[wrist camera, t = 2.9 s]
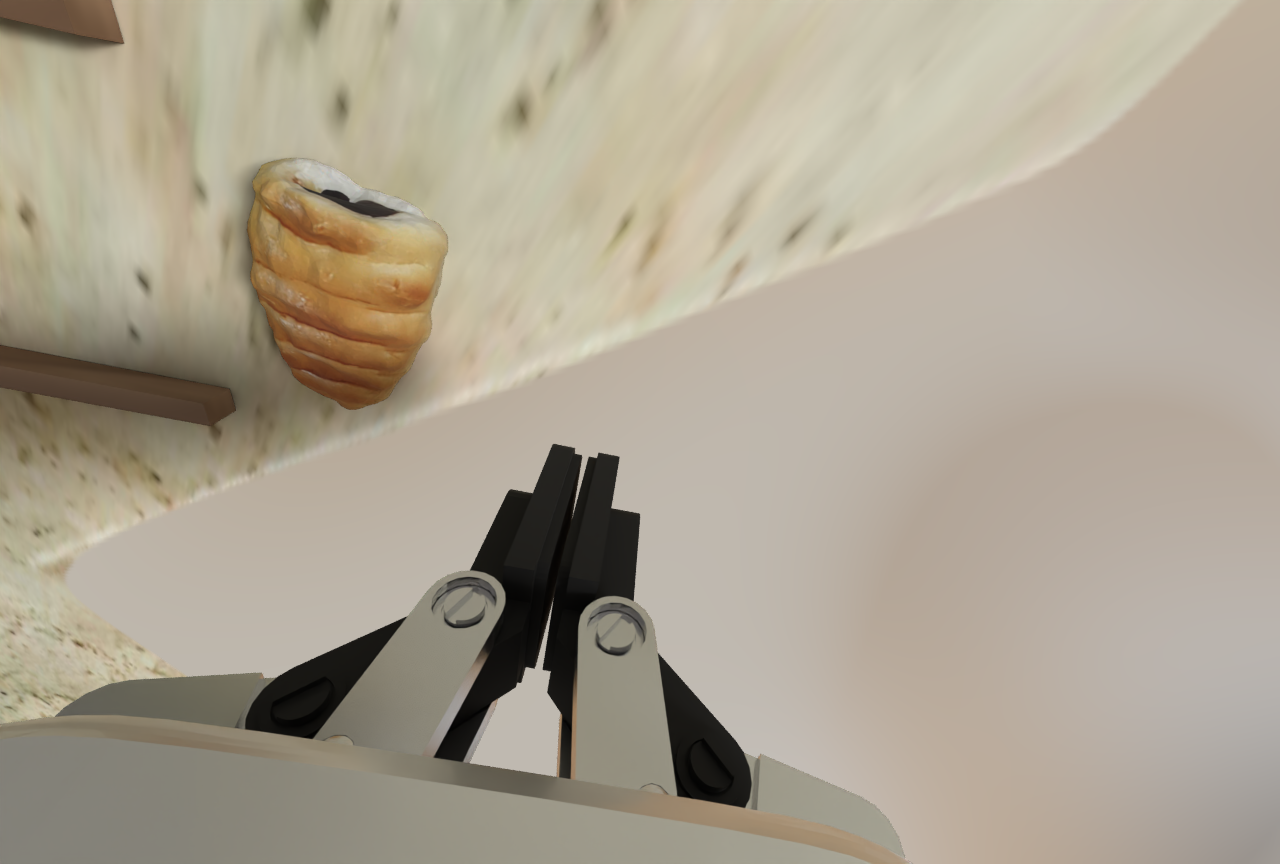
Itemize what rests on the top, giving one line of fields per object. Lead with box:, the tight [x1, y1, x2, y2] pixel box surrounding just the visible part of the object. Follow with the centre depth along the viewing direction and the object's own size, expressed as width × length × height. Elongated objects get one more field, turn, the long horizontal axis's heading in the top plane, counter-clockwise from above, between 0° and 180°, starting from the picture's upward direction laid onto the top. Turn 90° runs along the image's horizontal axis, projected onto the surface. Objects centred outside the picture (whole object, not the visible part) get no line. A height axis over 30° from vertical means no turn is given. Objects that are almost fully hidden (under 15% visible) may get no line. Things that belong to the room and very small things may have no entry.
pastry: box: [247, 158, 448, 410], centre depth 18 cm, size 9×7×4 cm
